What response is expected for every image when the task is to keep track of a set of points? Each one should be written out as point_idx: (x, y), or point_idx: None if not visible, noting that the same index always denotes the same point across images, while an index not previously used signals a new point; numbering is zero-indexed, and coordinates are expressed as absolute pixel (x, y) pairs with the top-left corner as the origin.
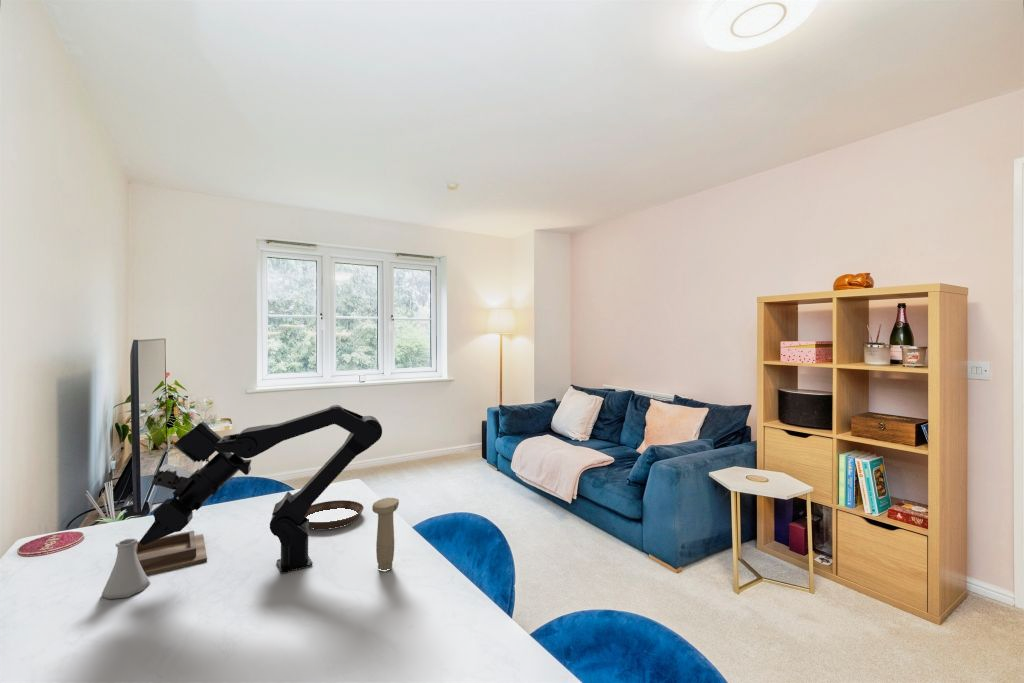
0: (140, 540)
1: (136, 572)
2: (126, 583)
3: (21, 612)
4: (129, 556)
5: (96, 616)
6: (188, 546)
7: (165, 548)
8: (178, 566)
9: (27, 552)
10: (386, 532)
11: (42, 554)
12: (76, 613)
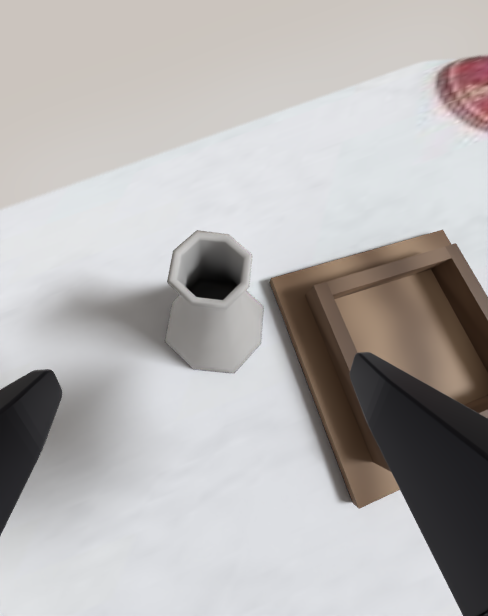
0: (19, 379)
1: (196, 344)
2: (172, 331)
3: (183, 161)
4: (190, 309)
5: (93, 308)
6: None
7: (445, 336)
8: (322, 419)
9: (455, 73)
10: None
11: (444, 96)
12: (131, 259)
